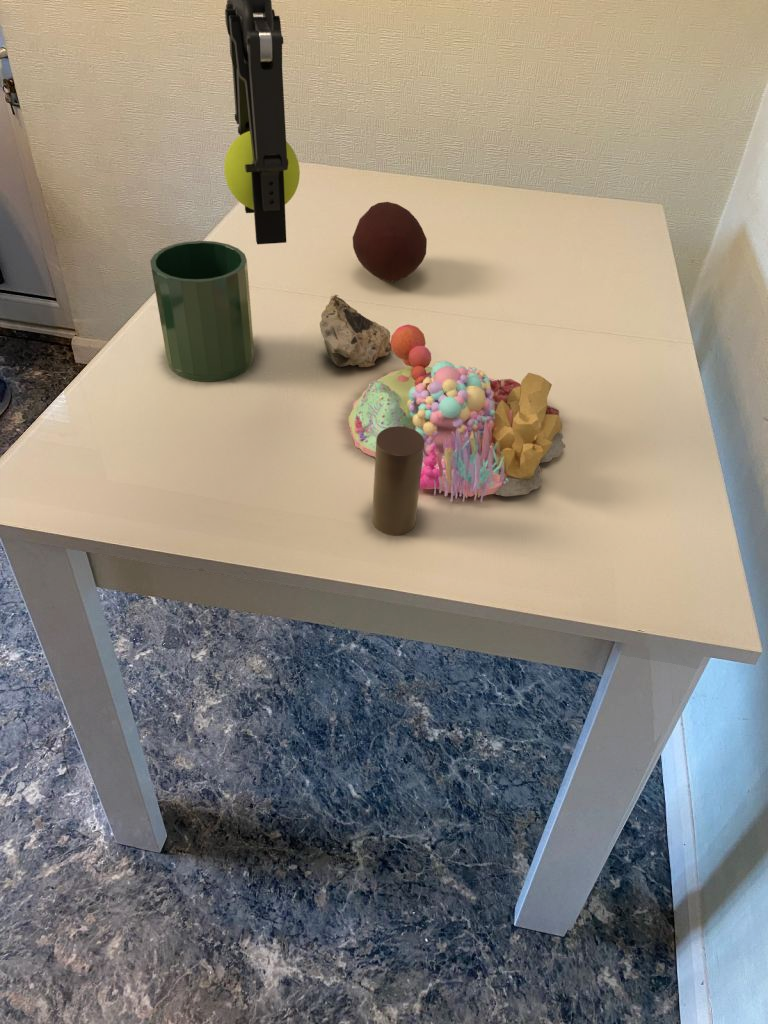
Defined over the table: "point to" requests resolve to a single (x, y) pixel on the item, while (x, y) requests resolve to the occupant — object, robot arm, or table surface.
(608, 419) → the table surface
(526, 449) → the candy landscape model
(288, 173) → the ball
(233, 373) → the tube
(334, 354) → the rock
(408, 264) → the dark brown round lump
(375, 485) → the post
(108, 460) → the table surface
